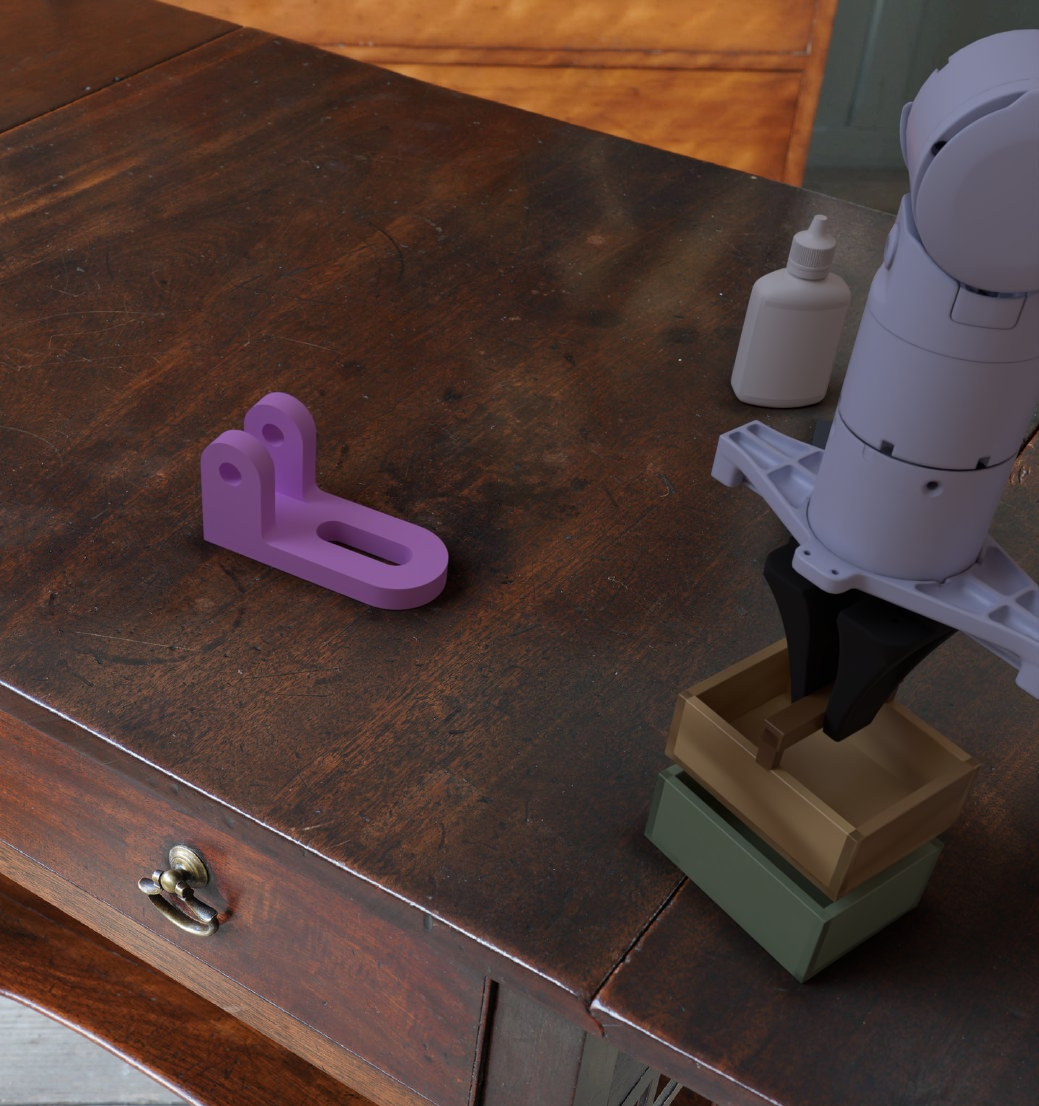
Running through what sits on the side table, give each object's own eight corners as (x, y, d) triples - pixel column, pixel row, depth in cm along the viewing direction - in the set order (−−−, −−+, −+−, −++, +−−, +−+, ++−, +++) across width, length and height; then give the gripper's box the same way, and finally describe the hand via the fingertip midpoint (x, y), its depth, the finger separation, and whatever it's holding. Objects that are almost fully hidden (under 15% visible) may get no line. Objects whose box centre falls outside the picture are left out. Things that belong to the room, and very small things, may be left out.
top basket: (955, 824, 57) (998, 726, 54) (834, 903, 54) (871, 805, 51) (782, 688, 63) (810, 593, 60) (663, 753, 60) (686, 656, 57)
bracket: (204, 539, 79) (199, 434, 75) (258, 487, 83) (257, 383, 78) (416, 623, 74) (424, 515, 70) (464, 563, 78) (475, 457, 73)
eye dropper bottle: (813, 423, 88) (863, 244, 81) (722, 399, 90) (762, 221, 83) (829, 389, 91) (878, 213, 84) (740, 366, 93) (781, 192, 86)
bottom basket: (917, 906, 61) (945, 844, 58) (801, 984, 58) (825, 922, 55) (756, 770, 66) (775, 708, 64) (643, 835, 63) (658, 772, 61)
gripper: (680, 356, 50) (623, 644, 59) (1047, 585, 41) (916, 887, 50) (820, 301, 53) (746, 583, 62) (1192, 503, 44) (1044, 802, 53)
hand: (830, 714), depth 56 cm, fingers closed on top basket
